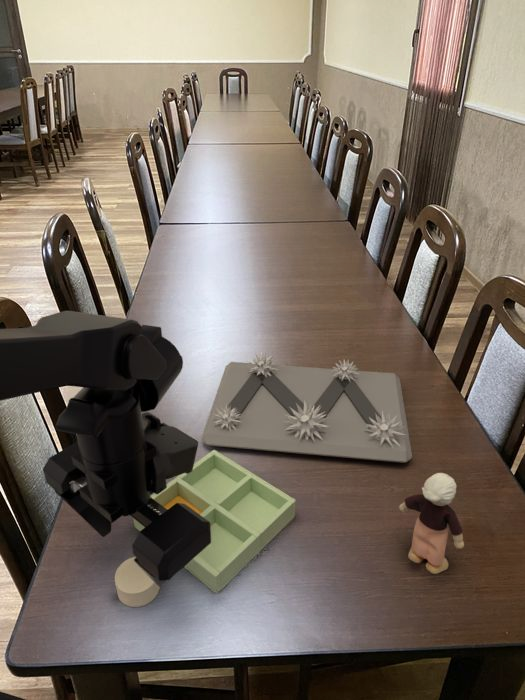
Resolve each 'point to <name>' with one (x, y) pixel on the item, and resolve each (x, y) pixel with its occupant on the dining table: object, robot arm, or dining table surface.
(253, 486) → the grid
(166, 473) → the robot arm
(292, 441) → the decorative plate
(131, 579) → the cylinder
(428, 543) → the grandmother figurine
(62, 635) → the dining table surface
